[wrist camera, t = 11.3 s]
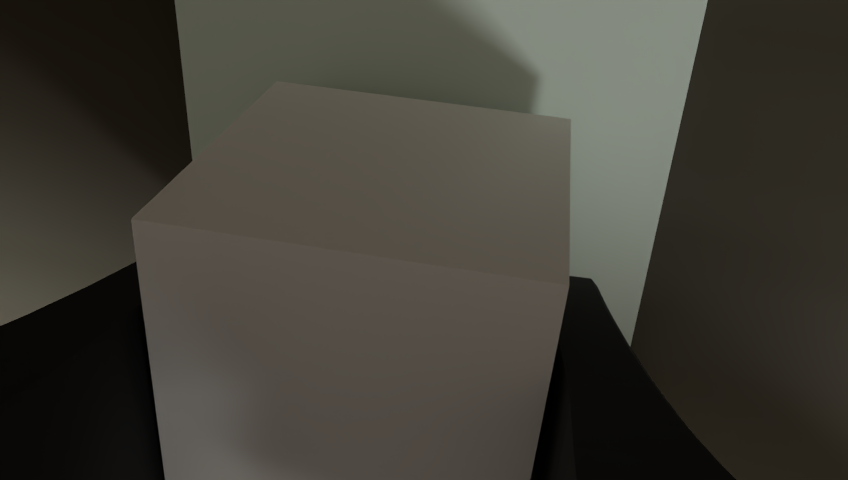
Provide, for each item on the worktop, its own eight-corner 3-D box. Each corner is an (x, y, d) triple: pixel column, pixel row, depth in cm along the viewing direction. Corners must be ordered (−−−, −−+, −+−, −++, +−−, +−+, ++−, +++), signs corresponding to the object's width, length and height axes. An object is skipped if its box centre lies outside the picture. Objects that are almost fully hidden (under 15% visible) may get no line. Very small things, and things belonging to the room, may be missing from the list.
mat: (600, 455, 16) (601, 477, 16) (231, 401, 17) (221, 419, 17) (710, -51, 11) (717, -44, 11) (182, -90, 12) (165, -86, 12)
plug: (507, 471, 15) (484, 709, 11) (284, 431, 16) (186, 645, 12) (570, 119, 11) (569, 285, 8) (277, 81, 12) (130, 219, 8)
